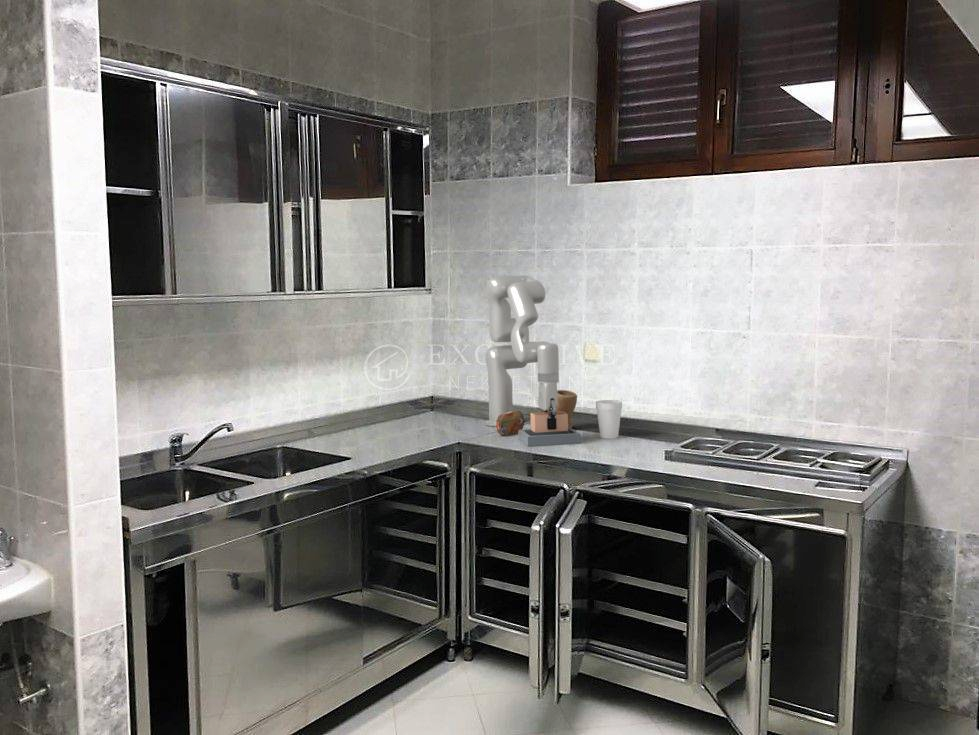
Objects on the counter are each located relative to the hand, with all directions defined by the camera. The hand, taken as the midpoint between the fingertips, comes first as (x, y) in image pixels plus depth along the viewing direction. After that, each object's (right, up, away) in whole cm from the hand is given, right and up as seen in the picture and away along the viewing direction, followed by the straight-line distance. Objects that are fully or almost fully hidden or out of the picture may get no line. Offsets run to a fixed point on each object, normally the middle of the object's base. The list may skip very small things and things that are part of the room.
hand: (549, 427), depth 310 cm
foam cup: (+22, -4, +6) cm, 24 cm away
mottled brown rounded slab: (-13, -4, +17) cm, 22 cm away
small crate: (0, -1, 0) cm, 1 cm away
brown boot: (+7, -2, +26) cm, 27 cm away
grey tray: (0, -5, +1) cm, 5 cm away
